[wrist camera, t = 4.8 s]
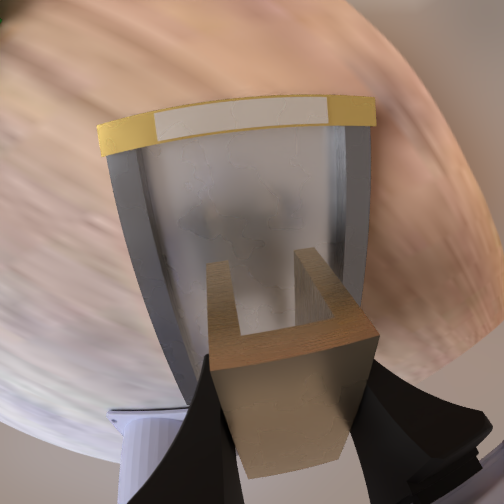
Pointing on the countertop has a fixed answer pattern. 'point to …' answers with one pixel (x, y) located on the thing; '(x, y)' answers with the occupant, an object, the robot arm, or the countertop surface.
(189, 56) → the countertop surface
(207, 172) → the silver channel bracket
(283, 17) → the countertop surface
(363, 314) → the tan notched block
